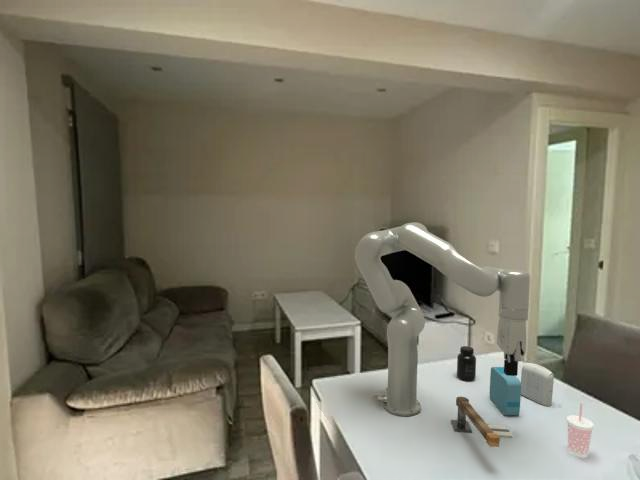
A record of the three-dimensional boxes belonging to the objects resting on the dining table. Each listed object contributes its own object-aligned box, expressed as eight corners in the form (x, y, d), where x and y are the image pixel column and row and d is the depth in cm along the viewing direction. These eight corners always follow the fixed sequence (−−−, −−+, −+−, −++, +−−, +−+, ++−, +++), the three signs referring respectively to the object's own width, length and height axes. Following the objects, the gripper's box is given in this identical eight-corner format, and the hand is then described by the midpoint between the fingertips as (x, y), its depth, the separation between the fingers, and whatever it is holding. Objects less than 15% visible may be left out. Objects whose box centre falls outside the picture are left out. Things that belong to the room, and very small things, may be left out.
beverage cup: (566, 442, 110) (569, 395, 109) (592, 451, 106) (596, 403, 105) (562, 453, 105) (566, 404, 104) (590, 462, 102) (594, 412, 100)
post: (454, 431, 115) (455, 409, 114) (451, 422, 120) (451, 401, 119) (472, 432, 114) (473, 411, 114) (467, 423, 119) (468, 402, 119)
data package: (519, 417, 123) (521, 381, 122) (505, 417, 123) (507, 381, 122) (501, 398, 135) (503, 365, 134) (488, 398, 135) (490, 365, 134)
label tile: (487, 436, 113) (487, 433, 113) (482, 426, 118) (482, 424, 118) (512, 437, 112) (512, 435, 112) (506, 428, 117) (506, 425, 117)
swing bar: (454, 403, 118) (454, 395, 118) (465, 403, 118) (465, 395, 118) (487, 446, 97) (488, 438, 97) (501, 446, 97) (502, 437, 97)
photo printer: (554, 404, 131) (556, 369, 130) (547, 407, 129) (549, 372, 128) (524, 391, 140) (526, 358, 139) (517, 394, 138) (519, 361, 136)
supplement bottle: (476, 376, 152) (478, 347, 150) (473, 383, 146) (474, 352, 145) (458, 372, 155) (460, 343, 154) (454, 379, 149) (456, 349, 148)
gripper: (491, 305, 118) (488, 363, 120) (509, 320, 103) (506, 385, 105) (517, 306, 117) (514, 364, 119) (538, 321, 102) (535, 387, 104)
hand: (510, 374), depth 112 cm, fingers closed
